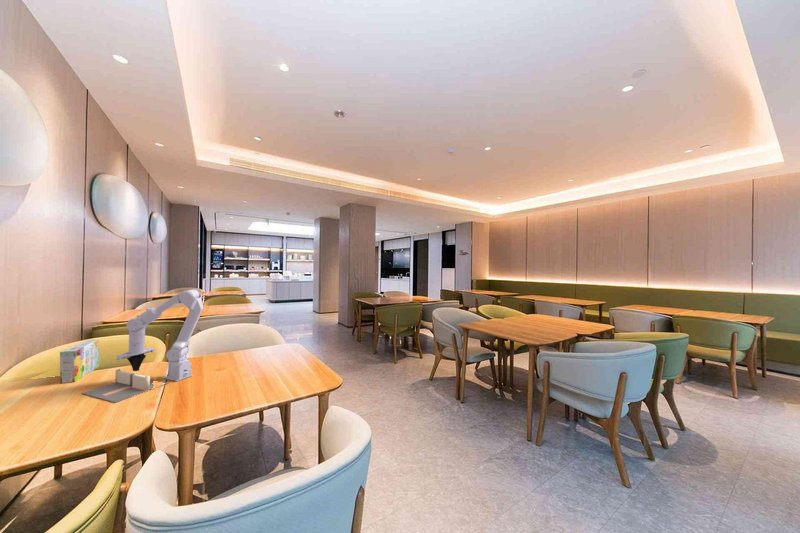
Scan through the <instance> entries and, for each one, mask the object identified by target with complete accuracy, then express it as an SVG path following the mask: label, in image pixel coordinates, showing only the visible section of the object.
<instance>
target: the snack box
mask: <svg viewBox="0 0 800 533" xmlns="http://www.w3.org/2000/svg"><path fill="white" fill-rule="evenodd" d="M99 348H100V339H99V338H96V339H87V340H83V341H81V342H79V343H77V344H75V345H73V346H70V347H68V348H66V349H64V350H62V351H59V360H60V361H59V368H60V369H59V374H60V375H59V376H60V377H59V378H60V379H59V381H60V382H59V384H60V383H61V384H67V383H66V382H69V383H75V382H77V381H79V380H80V379H82V378H83V377H85V376H86V375H85V374H84V373H88V374H90V373H91V372H92V371H94V370H97V368H99V367H100V349H99ZM89 372H90V373H89ZM78 379H79V380H78Z"/></svg>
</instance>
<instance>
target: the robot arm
mask: <svg viewBox="0 0 800 533" xmlns="http://www.w3.org/2000/svg"><path fill="white" fill-rule="evenodd" d="M202 298H203V295H202V294H201V292H200V291H199V290H198V289H196V288H195V289H194V288H192V289H189V290H183V291H181V292H180V293H177V294H175V295H173V296H171V297H170V298H169V299H168V300H166V301H165V302H163V303H162V304H160V305H159V306H157V307H153V306H152V307H148V308H146V309H145V311H144V312H142V313H140V314H137V315H136V317H134V318H131V319H129V320H128V321H127V323H126V328H127V330H128V351H127V352H125V353H122V354H119V355H116V361H122V360H125V359H127V360H128V361H129V364H130V366H131V368H132V372H138V371H140V368H141V367H142V366H141V365H142V363H143V362H144V360H145V358H146V356H147V355H146V354H149V353H155V349H156V348H155V347H148V348H145V347H146V346H145V343H146V341H145V340H146V327H147V326H148V325H150V324H151V323H153V322H154V321H156V320H157V319H160V318H161V316H162V313H163V312H165V311H167V310H168V309H170V308H172V307H173V306H175V305H177V304H183V305H184V306H185V307H186V308H187V309H188V313H187V316H186V318H185V319H184V320H185V321H184V322H183V325H182V326H181V329H180V331H179V334H178V336H177V339H176V340H175V342H174V343H173V344H172V346H171V348H169V349H168V350H167V352H166V353H165V355H166V356H165V358H166V359H167V360H168V364H167V365H168V366H167V369H168V370H167V372H168V373H167V375H166V376H164V377H165V378H166V379H165V380H169V381H175V382H179V381H182V380H184V379H187V378H189V377H193V376H194V374H193V373H192V362H191V361H190V360H189V359H188V355H187V354H188V352H189V350H190V347H189V346H190V344H191V343H190V339H191V337H192V335H193V333H194V331H195V328H196V326H197V324H198V321H199V319H200V316H201V314H202V312H203V310H204V306H203V304H204V303H203V300H202Z"/></svg>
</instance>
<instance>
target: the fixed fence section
mask: <svg viewBox="0 0 800 533" xmlns="http://www.w3.org/2000/svg"><path fill="white" fill-rule="evenodd" d="M150 379H151V376H150V375H142V374H137V373H134V375H133V382H132V387H136V388H140V389H144V390H149V389H150ZM149 391H150V390H149Z"/></svg>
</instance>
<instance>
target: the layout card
mask: <svg viewBox="0 0 800 533" xmlns="http://www.w3.org/2000/svg"><path fill="white" fill-rule="evenodd" d="M154 380H155V379H153V378H150V389H152V388H153V386H154V385H153V384H152V383H153V381H154ZM164 382H165V385H164V386H166V385H167V384H169V382H166V381H164ZM150 389H149V391H151V390H150ZM152 390H153V389H152ZM145 391H147V392H149V391H148V390H144V389H140V388H136V387H132V385H127V384H123V383H118V382H115V381H114V382H113V383H109V384H106V385H103V386H100V387H96V388H94V389H90V390H87V391H83V392H81V395H84V396H88V397H92V398H96V399H98V400H99V399H100V400H102V401H107V402H111V403H114V404H115V403H119V402H121V400H122V401H124V399H125V400H127V399H129V397H130V398H132V396H133V397H135V396H134V395H136V396H138V395H141V394H143V392H144V393H146V392H145ZM140 393H141V394H140ZM137 394H138V395H137Z"/></svg>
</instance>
